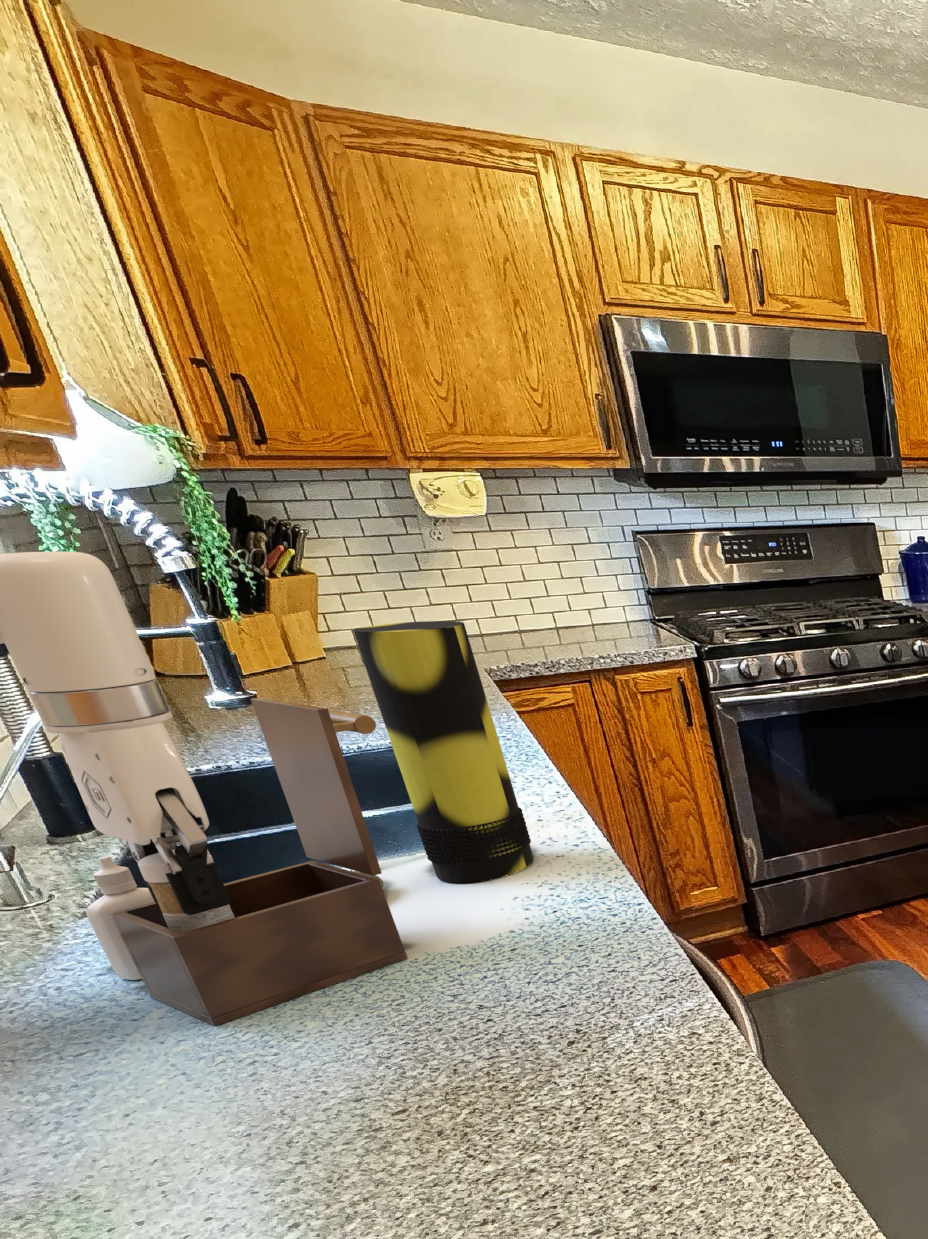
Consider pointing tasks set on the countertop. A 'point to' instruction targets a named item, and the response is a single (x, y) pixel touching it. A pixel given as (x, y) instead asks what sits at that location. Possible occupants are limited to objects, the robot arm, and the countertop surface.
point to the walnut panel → (319, 780)
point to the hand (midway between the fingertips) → (193, 902)
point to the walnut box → (265, 942)
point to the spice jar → (172, 912)
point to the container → (446, 748)
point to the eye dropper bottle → (116, 898)
